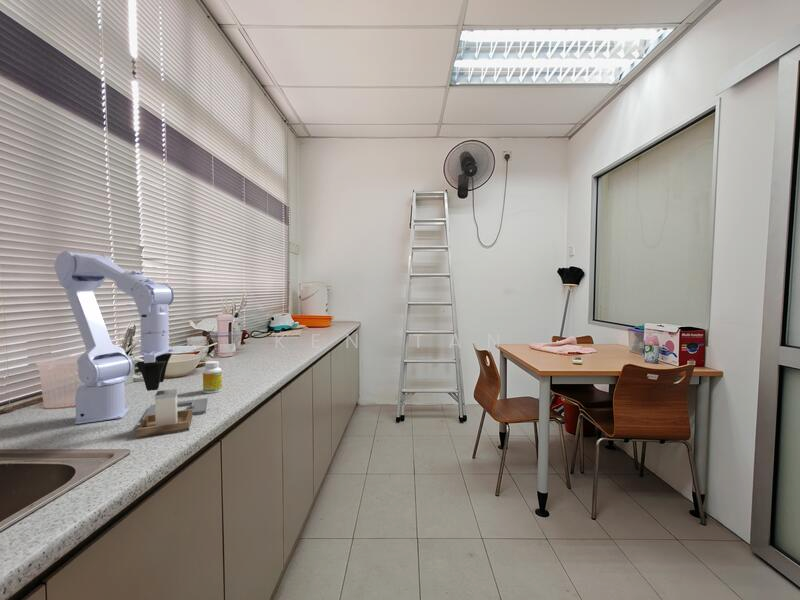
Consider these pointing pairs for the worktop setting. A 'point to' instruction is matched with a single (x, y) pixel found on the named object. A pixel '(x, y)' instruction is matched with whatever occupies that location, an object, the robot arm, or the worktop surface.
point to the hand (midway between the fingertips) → (155, 385)
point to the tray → (151, 429)
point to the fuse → (166, 407)
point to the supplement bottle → (212, 377)
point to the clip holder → (196, 405)
